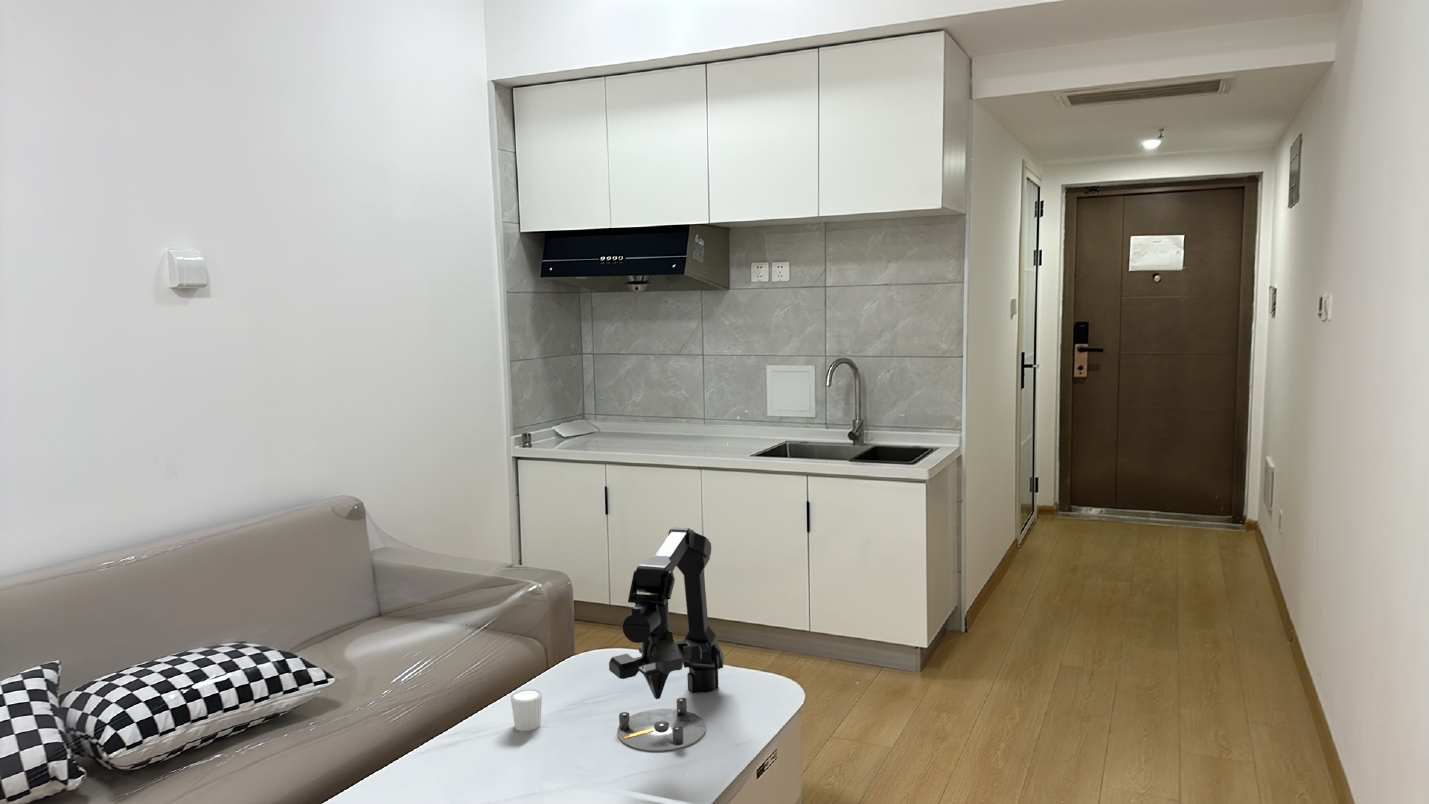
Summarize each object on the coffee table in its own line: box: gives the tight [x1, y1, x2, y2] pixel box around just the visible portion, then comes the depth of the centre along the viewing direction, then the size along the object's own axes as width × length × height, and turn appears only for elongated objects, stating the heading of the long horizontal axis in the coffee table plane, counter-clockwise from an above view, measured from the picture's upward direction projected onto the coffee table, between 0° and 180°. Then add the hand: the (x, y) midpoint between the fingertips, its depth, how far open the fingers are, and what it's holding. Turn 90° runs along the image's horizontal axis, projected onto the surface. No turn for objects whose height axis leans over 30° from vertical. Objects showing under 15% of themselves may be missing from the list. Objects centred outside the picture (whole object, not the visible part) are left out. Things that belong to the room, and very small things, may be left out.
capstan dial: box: [617, 697, 707, 752], centre depth 203 cm, size 19×19×4 cm
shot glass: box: [510, 688, 543, 732], centre depth 208 cm, size 7×7×7 cm
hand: (657, 698), depth 193 cm, fingers closed
